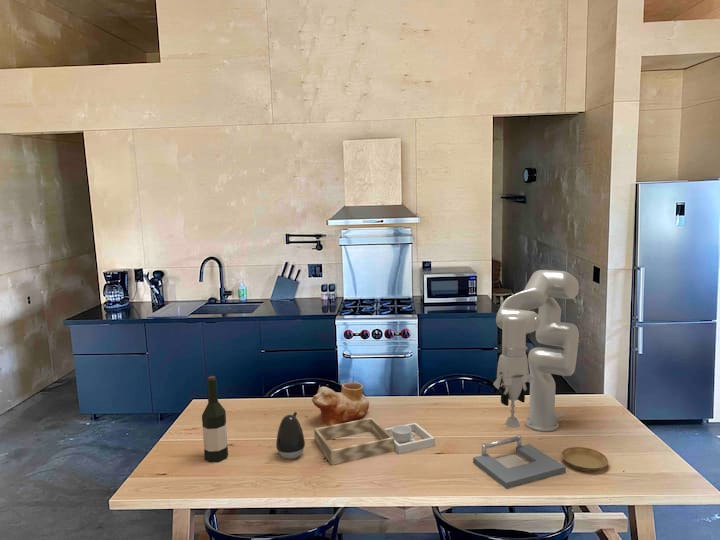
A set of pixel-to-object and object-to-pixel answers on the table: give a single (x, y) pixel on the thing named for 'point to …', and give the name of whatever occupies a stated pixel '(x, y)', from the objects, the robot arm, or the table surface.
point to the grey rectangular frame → (521, 467)
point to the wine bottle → (214, 426)
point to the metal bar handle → (501, 443)
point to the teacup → (402, 434)
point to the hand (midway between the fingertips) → (512, 402)
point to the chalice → (513, 396)
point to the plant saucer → (584, 458)
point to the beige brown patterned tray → (355, 451)
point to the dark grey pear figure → (290, 437)
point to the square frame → (415, 445)
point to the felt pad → (511, 461)
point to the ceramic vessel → (341, 404)
